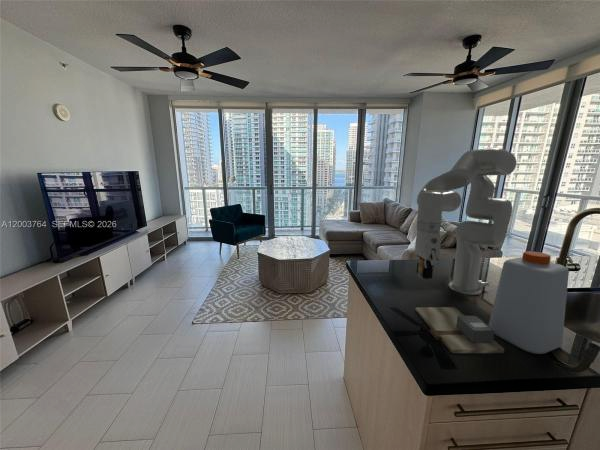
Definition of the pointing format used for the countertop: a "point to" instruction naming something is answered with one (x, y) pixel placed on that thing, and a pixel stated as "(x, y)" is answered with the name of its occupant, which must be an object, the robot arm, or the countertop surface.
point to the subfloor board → (453, 331)
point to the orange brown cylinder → (421, 267)
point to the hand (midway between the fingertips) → (424, 275)
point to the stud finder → (475, 329)
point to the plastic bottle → (531, 303)
